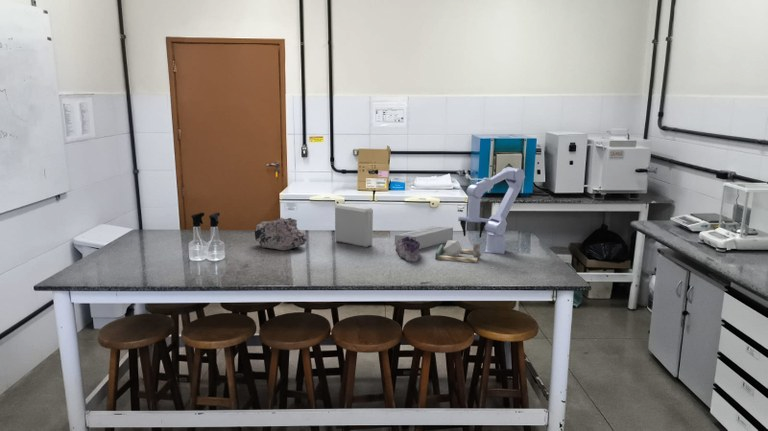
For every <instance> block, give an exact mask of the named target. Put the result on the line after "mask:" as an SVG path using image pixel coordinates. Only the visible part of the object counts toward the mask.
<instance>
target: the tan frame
mask: <svg viewBox="0 0 768 431" xmlns="http://www.w3.org/2000/svg"><path fill="white" fill-rule="evenodd" d="M444 248H445V247H444V244H440V245H439V247H438V249H437V250H436V251H435V256H434V257H435V258H434V259H435V260H440V261H441V260H442V261H453V262H463V263H465V262H466V263H473V264H474V263H477V262H478V259H479V257H480V252H481V251H480V250H481V244H480V243H473V249H468V248H467V249H465V248H462V249H461V252H460V254H469V255H472V256H473V257H461V256H458V257H453V256H447V255H441V254H442V252H445V251H444Z"/></svg>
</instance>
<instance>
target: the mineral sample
mask: <svg viewBox="0 0 768 431" xmlns="http://www.w3.org/2000/svg"><path fill="white" fill-rule="evenodd" d="M297 222H298V221H297V219H294V218H292V217H288V218H283V217H280V218H277V219H276V220H275V219H271V220H269V221H261V222H260V223H258V224H257V225H256V227H255V231H254V239H255V241H256V242H258V243H259V244H260V246H261V248H263V249H274V250H279V251H287V250H288V251H289V250H293V249H295V248H297V247H302V246H304V245H305V244H306V242H307V235H306V234H305V233H304V232H302V231H301V230H300V229H299V228H298V227H297V226H298V223H297Z"/></svg>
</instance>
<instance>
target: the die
mask: <svg viewBox="0 0 768 431" xmlns="http://www.w3.org/2000/svg"><path fill="white" fill-rule="evenodd" d="M445 243H446V244H445V246H444V247H443V248H444V251H445V254H446V255H445V256H453V257H460V256H459V255H460V254H461V253H460V252H461V249H463V247H462V245H461V244H460V241H459V240H454V239H452V240H448V241H447V242H445Z"/></svg>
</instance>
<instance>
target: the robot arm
mask: <svg viewBox="0 0 768 431" xmlns="http://www.w3.org/2000/svg"><path fill="white" fill-rule="evenodd" d="M525 178H526V175H525V171H524V170H523V168H517V167H511V166H506V167H505V168H502V170H501V171H500V172H497V174H495V175H493V176H492V177H483V179H482V180H480V181H478V182H476V183H475V184H470V185H469V186H467V189H466V192H465V193H466V194H467V199H468V206H467V216H458V218H457V220H458V222H459V224H460V226H461V229H462V232H463V234H462V235H463V237H466V231H467V228H466V227H467V223H480V224H479V237H478V238H479V239H480V238H482V234H483V231H484V230H485V231H486V236H487V237H486V247H485V250H484V253H486V254H489V253H490V254H501V255H505V251H506V237H507V236H506V235H505V234H504V233H505V232H506V229H507V225H508V223H507V220H506V219H507V216H508V214H509V213H510V211H511V209H512V206H513V205H514V202H515V201H516V199H517V197H518V195H519V193H520V191H521V189H522V185H523V183H524V180H525ZM504 180H505V181H506V183H507V185H508V188H507V191H506V193H505V194H504V196H503V198H502V200H501V202H500V205H499V207H498V208H497V210H496V212H495V214H493V215H491V216H490V217H489V218H483V217H480V214H481V213H480V211H481V199H482V197H483V195H484V194H485V193H486V192H488V191H490V190H491V189H493V188H494V185H496V184H498V183H501V182H502V181H504Z"/></svg>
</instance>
